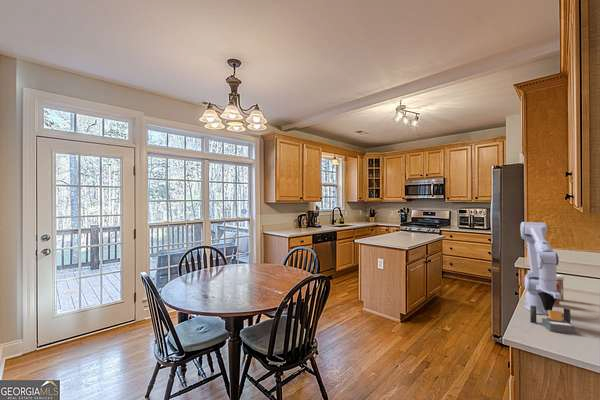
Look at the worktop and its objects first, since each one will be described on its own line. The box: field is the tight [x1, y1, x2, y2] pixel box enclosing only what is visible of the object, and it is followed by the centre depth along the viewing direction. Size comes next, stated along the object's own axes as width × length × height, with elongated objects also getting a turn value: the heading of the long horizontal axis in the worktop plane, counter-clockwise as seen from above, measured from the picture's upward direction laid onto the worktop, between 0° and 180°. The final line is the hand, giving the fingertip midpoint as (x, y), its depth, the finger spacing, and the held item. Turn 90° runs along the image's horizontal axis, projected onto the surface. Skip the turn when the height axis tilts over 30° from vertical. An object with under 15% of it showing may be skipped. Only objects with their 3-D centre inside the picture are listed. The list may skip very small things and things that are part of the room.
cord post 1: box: [529, 305, 537, 324], centre depth 121 cm, size 2×2×7 cm
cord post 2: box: [563, 308, 571, 324], centre depth 117 cm, size 2×2×7 cm
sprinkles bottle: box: [556, 274, 565, 302], centre depth 150 cm, size 5×5×14 cm
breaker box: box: [541, 316, 576, 335], centre depth 114 cm, size 6×8×4 cm
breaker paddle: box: [548, 309, 564, 321], centre depth 115 cm, size 1×4×4 cm, turn 74°
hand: (547, 310), depth 120 cm, fingers closed
